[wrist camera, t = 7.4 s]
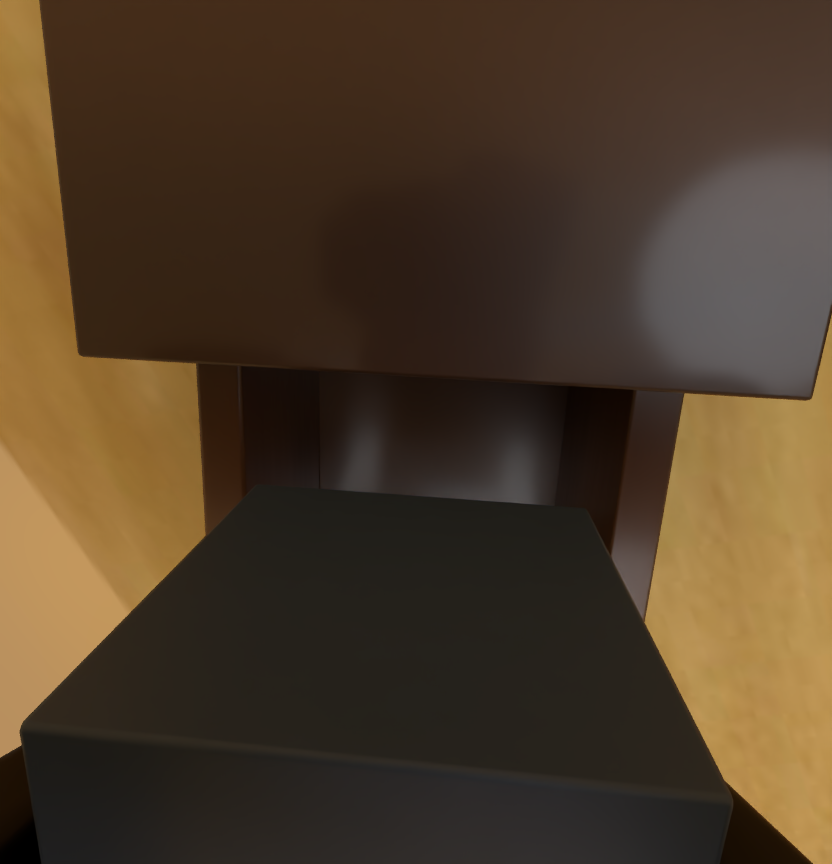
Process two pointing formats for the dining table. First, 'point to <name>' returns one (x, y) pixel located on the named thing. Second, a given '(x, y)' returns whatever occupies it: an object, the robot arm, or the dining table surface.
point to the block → (378, 700)
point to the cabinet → (452, 187)
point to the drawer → (446, 446)
